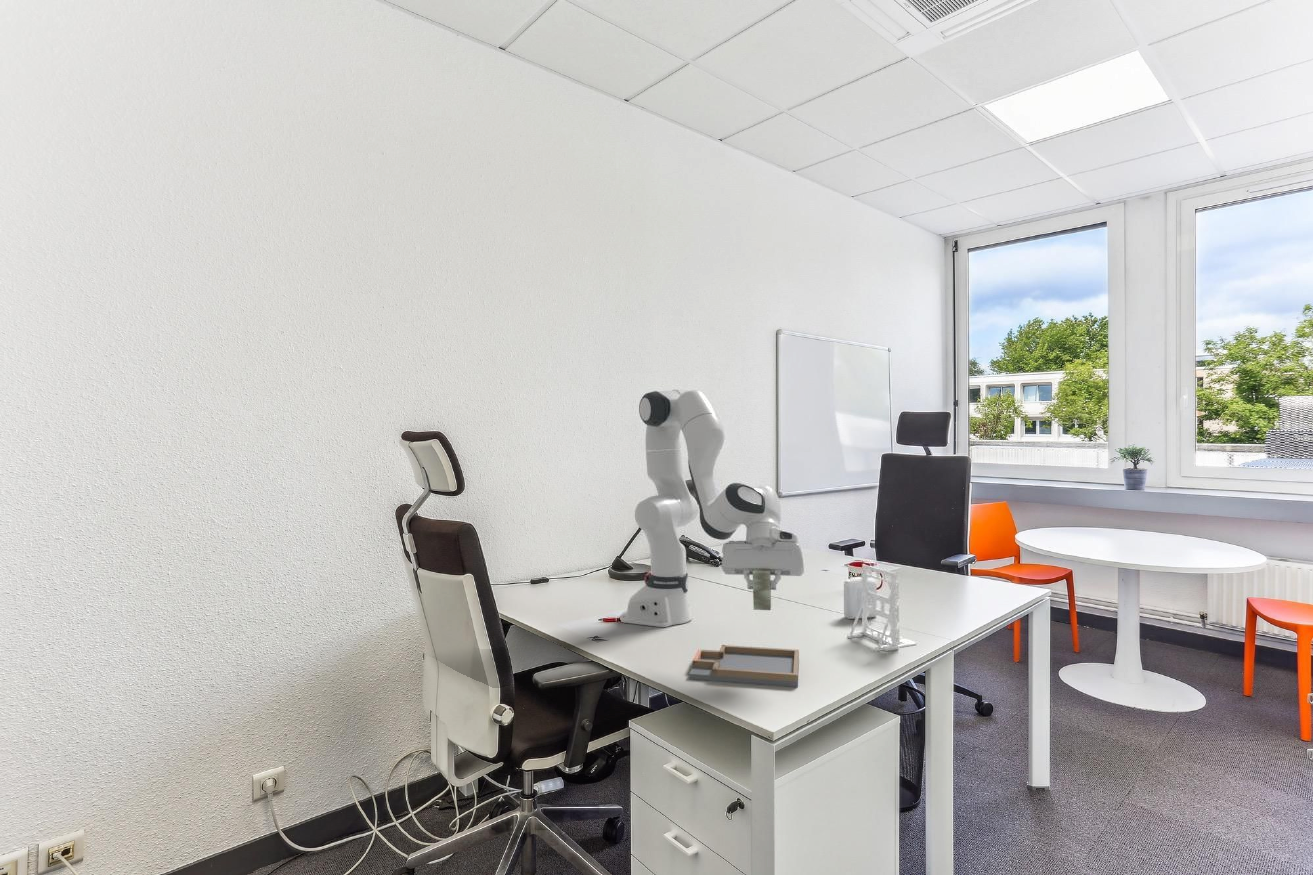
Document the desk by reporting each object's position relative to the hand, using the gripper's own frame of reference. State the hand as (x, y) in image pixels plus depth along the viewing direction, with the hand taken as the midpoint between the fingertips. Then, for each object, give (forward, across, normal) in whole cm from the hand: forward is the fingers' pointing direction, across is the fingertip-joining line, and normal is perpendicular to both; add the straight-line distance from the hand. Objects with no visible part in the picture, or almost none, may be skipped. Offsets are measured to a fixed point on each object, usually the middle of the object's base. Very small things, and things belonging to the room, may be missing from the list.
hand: (761, 588), depth 152 cm
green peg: (+3, 0, +4) cm, 5 cm away
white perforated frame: (-5, +30, +34) cm, 46 cm away
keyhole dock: (+14, -4, +14) cm, 20 cm away
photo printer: (-21, +26, +49) cm, 60 cm away
